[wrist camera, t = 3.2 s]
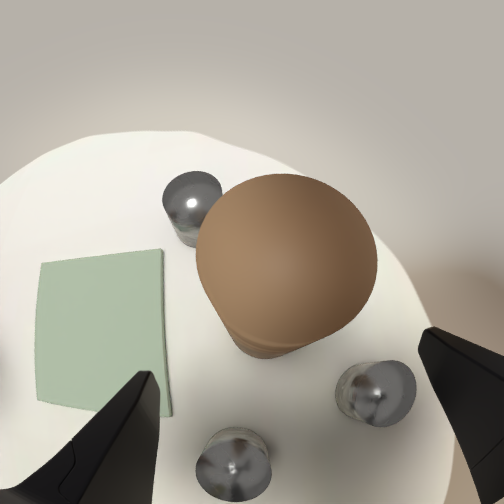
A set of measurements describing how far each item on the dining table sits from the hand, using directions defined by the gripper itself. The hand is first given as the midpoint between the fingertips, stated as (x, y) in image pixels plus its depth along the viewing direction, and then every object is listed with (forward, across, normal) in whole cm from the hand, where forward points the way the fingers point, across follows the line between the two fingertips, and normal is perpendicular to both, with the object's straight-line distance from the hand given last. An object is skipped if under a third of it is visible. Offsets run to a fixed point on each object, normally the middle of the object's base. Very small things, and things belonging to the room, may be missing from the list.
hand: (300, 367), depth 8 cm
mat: (+9, +13, +5) cm, 17 cm away
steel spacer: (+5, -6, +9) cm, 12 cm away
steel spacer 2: (+3, +3, +11) cm, 12 cm away
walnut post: (+9, 0, +5) cm, 11 cm away
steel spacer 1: (+15, +4, -1) cm, 16 cm away
